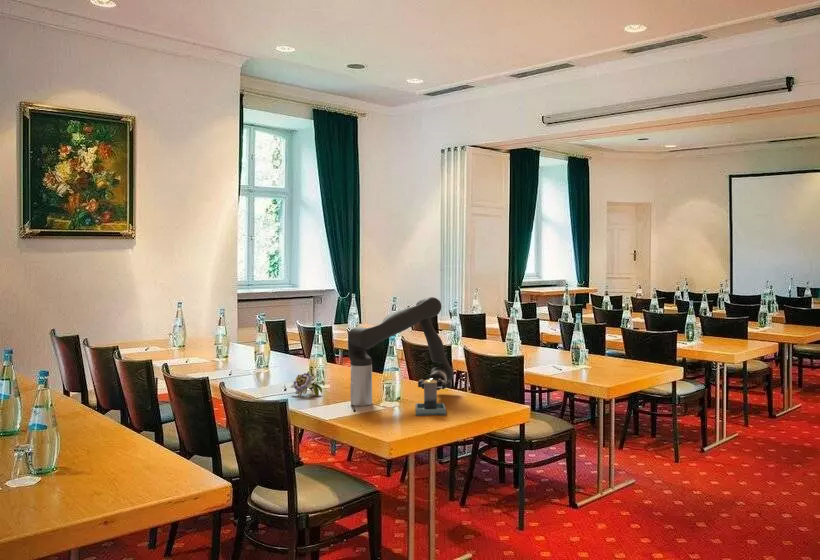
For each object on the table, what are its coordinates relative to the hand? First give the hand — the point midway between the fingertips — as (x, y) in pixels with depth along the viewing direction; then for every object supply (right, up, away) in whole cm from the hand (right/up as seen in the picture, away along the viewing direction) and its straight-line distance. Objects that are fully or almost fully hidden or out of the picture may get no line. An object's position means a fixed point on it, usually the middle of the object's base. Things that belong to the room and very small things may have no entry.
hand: (433, 386), depth 304 cm
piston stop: (-1, -8, -8) cm, 12 cm away
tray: (-1, -9, -8) cm, 13 cm away
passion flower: (-57, -9, +31) cm, 65 cm away
